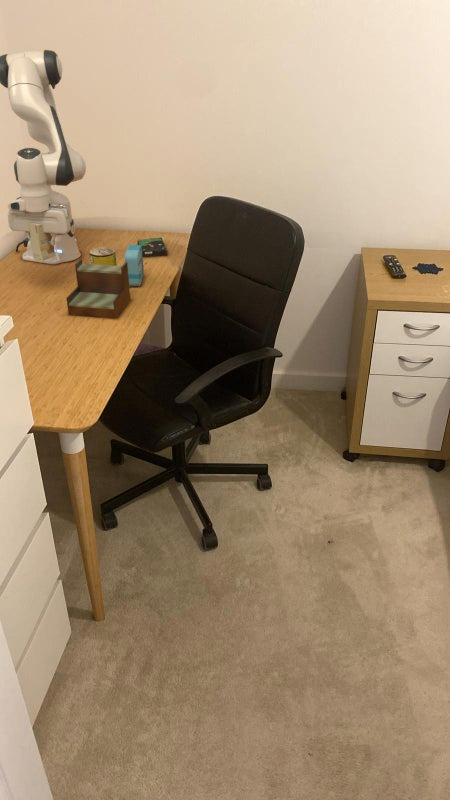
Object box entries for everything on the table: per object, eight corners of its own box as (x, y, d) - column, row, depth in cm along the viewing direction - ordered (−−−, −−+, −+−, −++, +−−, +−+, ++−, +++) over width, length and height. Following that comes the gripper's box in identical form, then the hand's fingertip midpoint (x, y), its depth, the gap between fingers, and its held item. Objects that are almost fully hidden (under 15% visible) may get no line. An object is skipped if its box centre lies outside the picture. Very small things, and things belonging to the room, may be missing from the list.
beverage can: (108, 277, 238) (105, 245, 231) (123, 283, 232) (120, 251, 226) (87, 283, 232) (84, 251, 226) (102, 290, 227) (99, 257, 220)
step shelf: (68, 315, 210) (63, 275, 203) (84, 296, 222) (80, 259, 215) (116, 318, 207) (112, 279, 200) (130, 300, 220) (127, 262, 213)
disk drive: (167, 256, 257) (161, 243, 269) (167, 249, 256) (161, 237, 268) (141, 258, 255) (137, 245, 267) (141, 251, 253) (136, 238, 266)
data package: (139, 288, 229) (137, 255, 223) (126, 287, 229) (124, 255, 223) (144, 275, 239) (141, 243, 233) (131, 275, 239) (129, 243, 233)
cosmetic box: (42, 261, 215) (37, 225, 208) (33, 259, 217) (27, 223, 210) (56, 256, 219) (51, 220, 213) (47, 253, 221) (41, 218, 215)
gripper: (70, 202, 209) (75, 243, 217) (11, 198, 212) (18, 239, 220) (63, 207, 204) (68, 250, 212) (2, 203, 207) (10, 245, 214)
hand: (42, 244), depth 216 cm, fingers closed on cosmetic box, 5 cm apart
